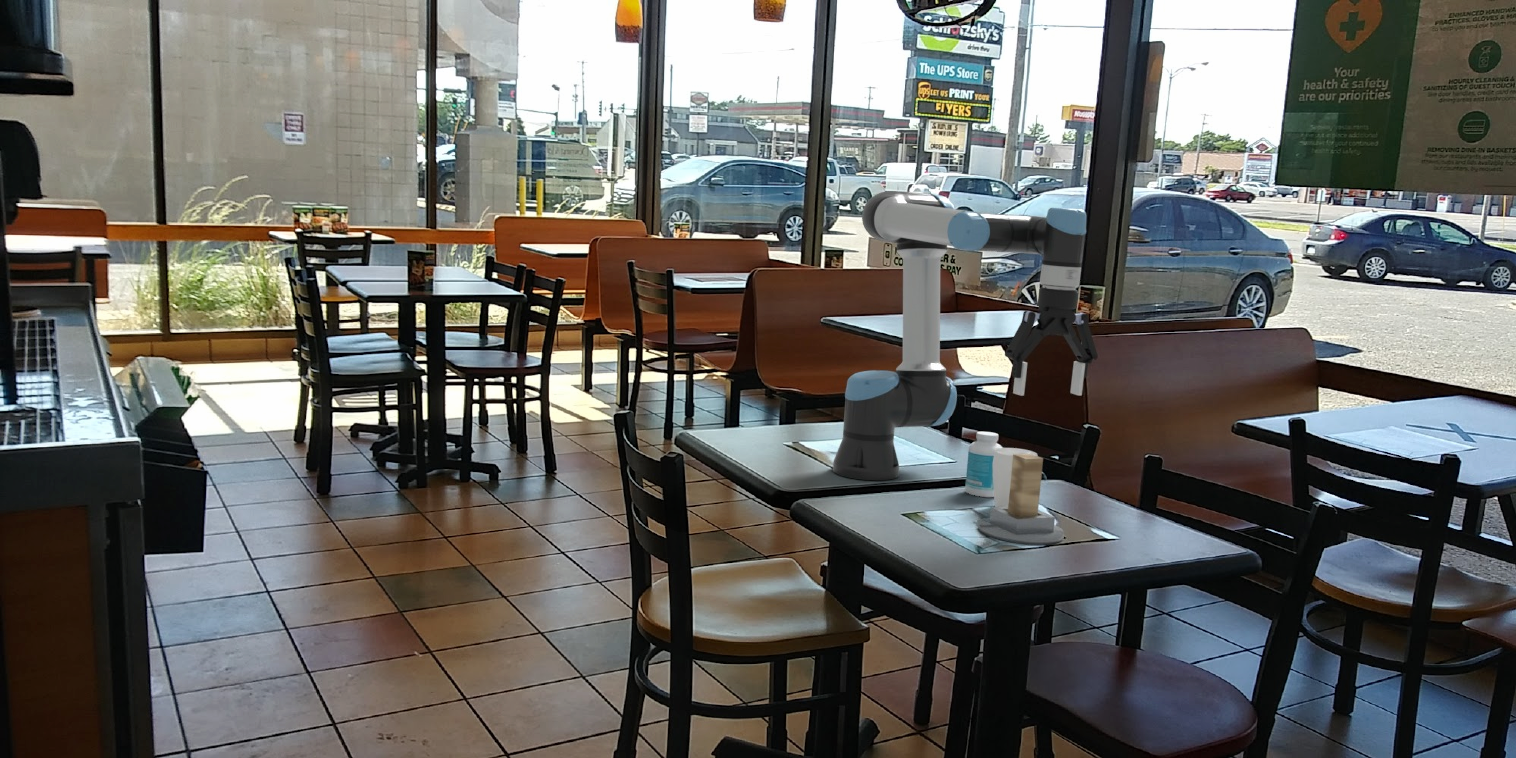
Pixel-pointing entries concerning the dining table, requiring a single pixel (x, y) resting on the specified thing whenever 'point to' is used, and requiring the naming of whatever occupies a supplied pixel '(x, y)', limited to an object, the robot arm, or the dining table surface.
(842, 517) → the dining table surface
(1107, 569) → the dining table surface
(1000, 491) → the cup
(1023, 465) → the tan wooden block
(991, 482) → the pill bottle
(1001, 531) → the square tray on disc
